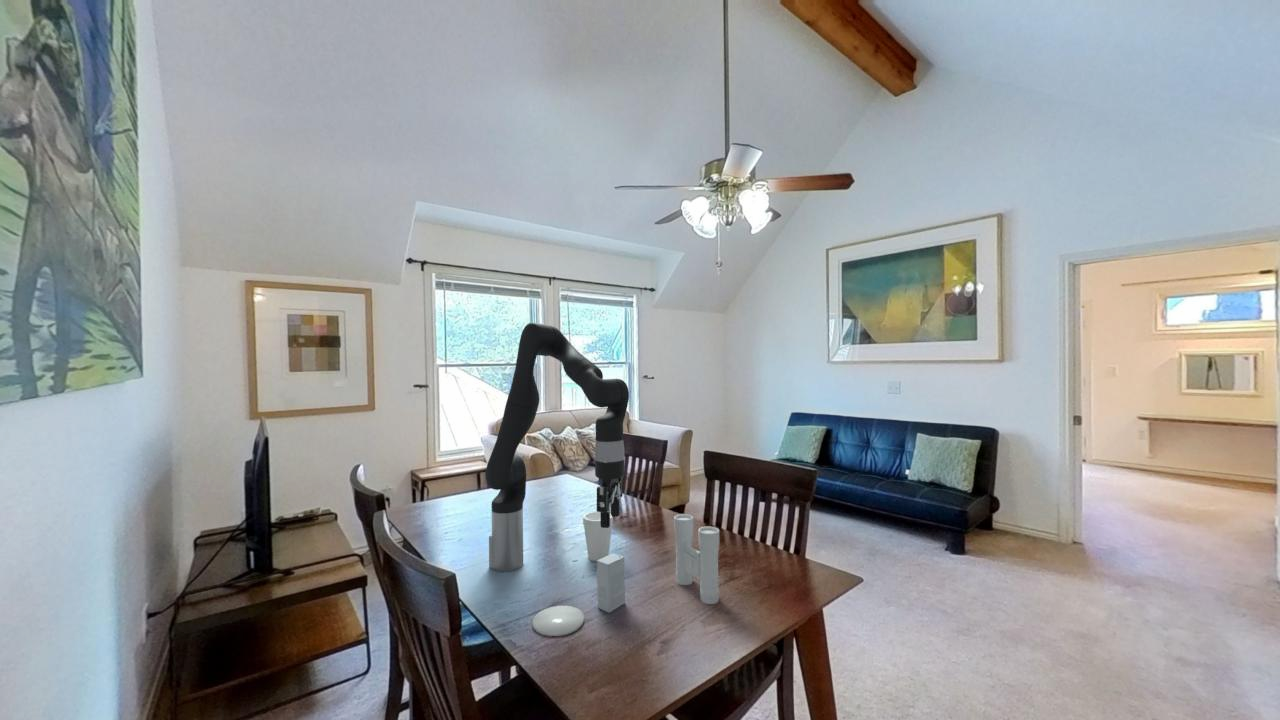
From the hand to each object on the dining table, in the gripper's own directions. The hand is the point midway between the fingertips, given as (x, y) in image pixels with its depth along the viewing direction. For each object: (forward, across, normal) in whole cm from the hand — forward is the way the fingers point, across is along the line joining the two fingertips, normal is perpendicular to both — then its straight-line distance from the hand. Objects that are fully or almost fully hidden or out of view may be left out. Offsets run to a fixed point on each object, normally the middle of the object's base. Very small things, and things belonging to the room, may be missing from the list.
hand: (610, 521), depth 120 cm
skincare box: (+22, 0, 0) cm, 22 cm away
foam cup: (+21, -28, -13) cm, 38 cm away
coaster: (+21, +10, -10) cm, 26 cm away
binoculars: (+22, -13, +20) cm, 32 cm away
